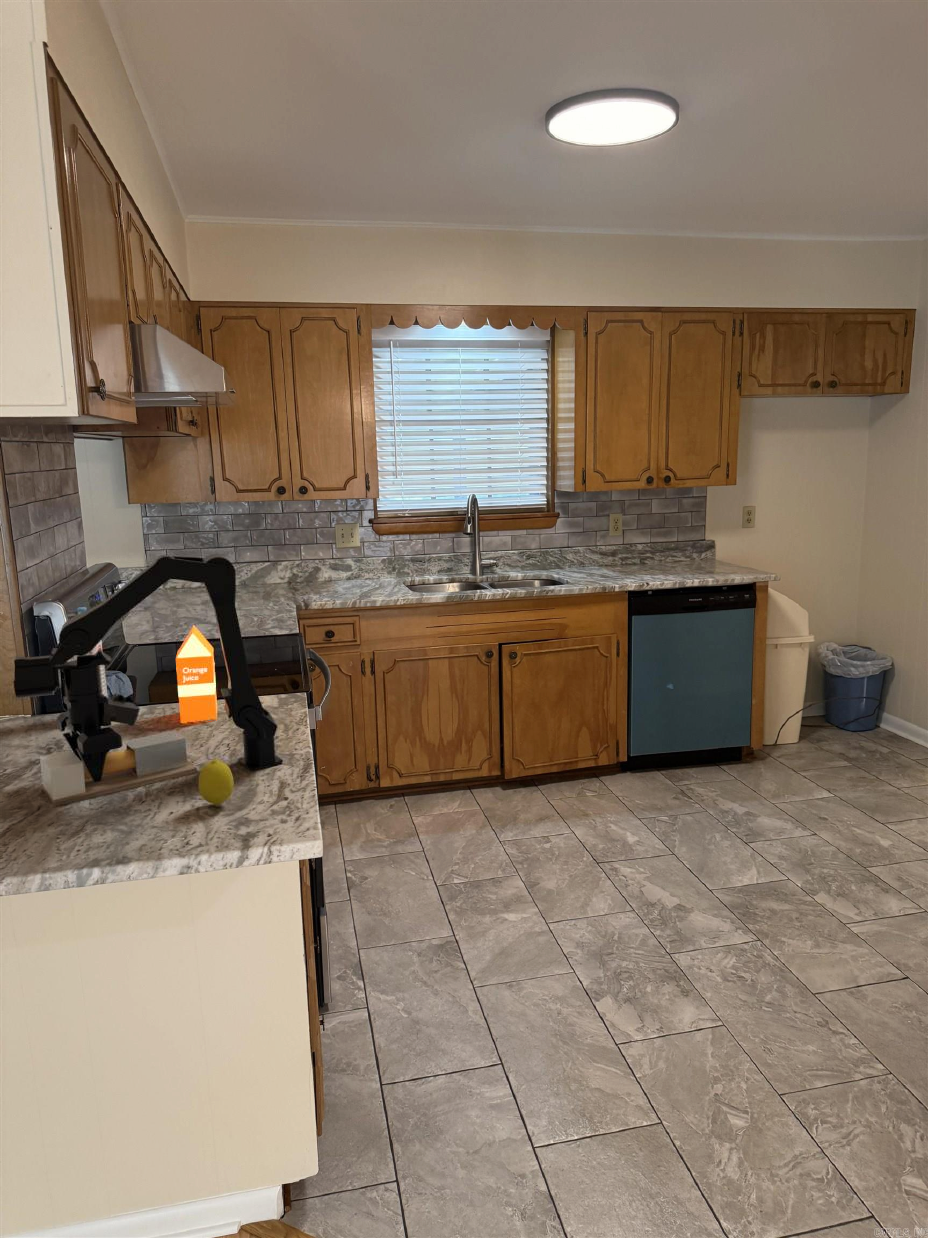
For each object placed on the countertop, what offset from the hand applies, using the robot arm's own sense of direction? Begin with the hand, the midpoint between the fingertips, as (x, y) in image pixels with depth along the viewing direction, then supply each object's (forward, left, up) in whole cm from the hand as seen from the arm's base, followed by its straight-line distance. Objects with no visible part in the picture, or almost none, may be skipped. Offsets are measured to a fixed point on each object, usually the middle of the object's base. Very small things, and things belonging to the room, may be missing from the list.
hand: (93, 776), depth 146 cm
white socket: (0, +5, -2) cm, 5 cm away
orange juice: (+28, -30, -2) cm, 41 cm away
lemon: (-22, -14, -2) cm, 26 cm away
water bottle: (+42, -11, -2) cm, 43 cm away
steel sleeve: (0, -11, -2) cm, 11 cm away
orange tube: (0, -5, 0) cm, 5 cm away
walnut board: (0, -5, -2) cm, 5 cm away
